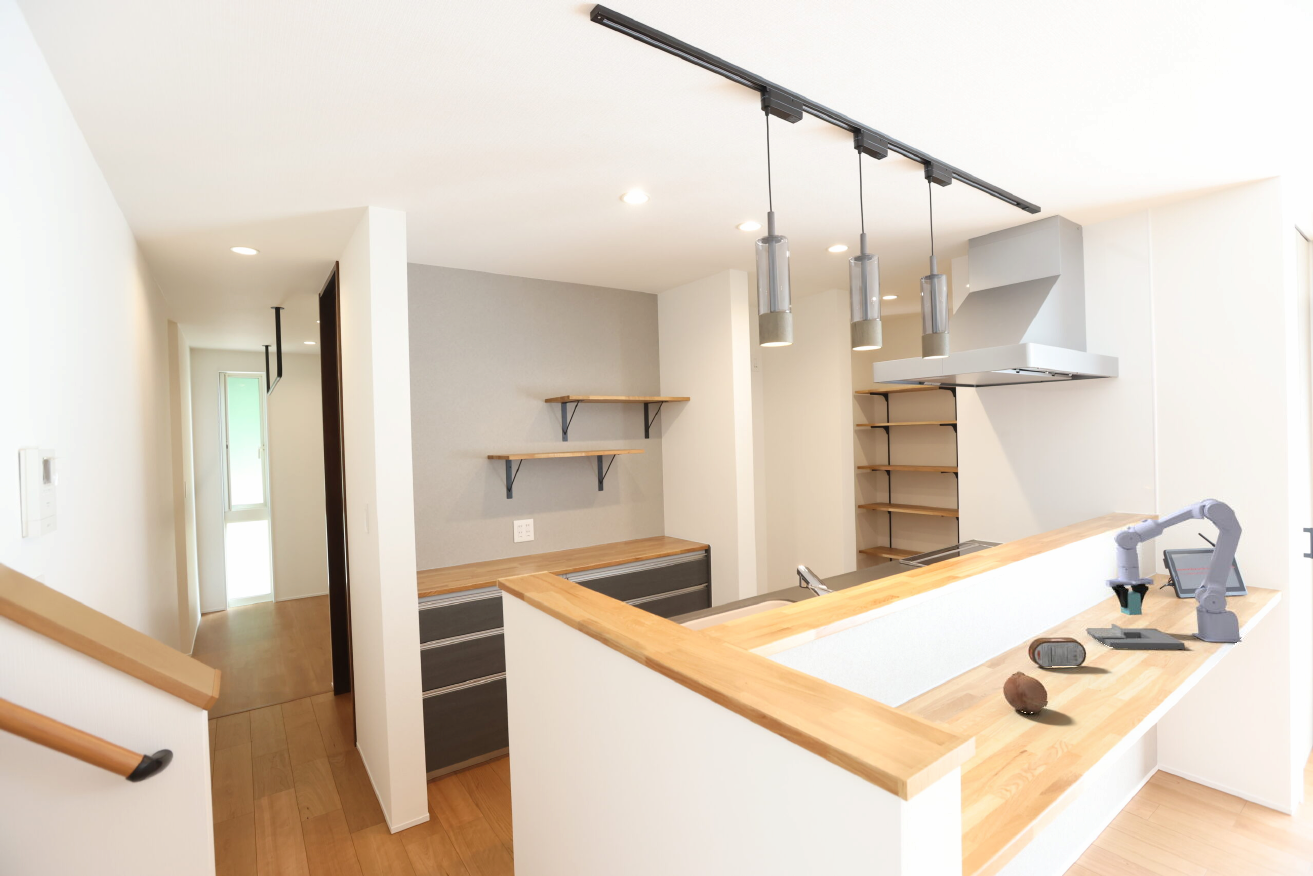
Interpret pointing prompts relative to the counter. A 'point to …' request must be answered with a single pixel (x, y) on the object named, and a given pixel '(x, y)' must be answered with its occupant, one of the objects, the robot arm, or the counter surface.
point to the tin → (1057, 652)
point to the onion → (1025, 693)
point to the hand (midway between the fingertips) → (1131, 607)
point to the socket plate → (1142, 639)
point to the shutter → (1108, 632)
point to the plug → (1133, 604)
